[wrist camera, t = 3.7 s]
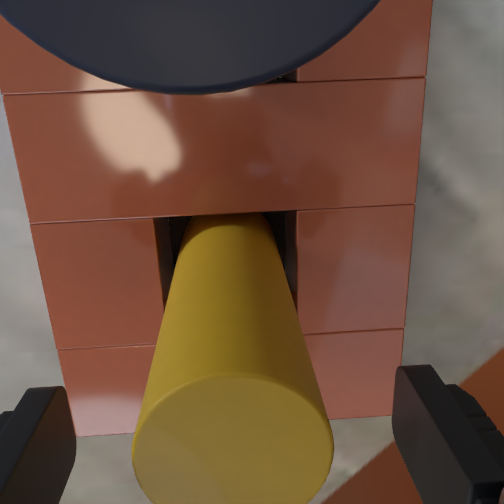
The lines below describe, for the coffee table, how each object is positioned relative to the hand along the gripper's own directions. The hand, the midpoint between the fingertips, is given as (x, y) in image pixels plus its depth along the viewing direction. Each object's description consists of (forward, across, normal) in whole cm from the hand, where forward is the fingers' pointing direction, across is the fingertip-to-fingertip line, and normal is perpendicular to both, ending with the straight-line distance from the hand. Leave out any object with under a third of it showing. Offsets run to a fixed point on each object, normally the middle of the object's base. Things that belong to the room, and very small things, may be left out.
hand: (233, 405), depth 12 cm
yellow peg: (+11, 0, 0) cm, 11 cm away
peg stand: (+11, 0, -5) cm, 12 cm away
